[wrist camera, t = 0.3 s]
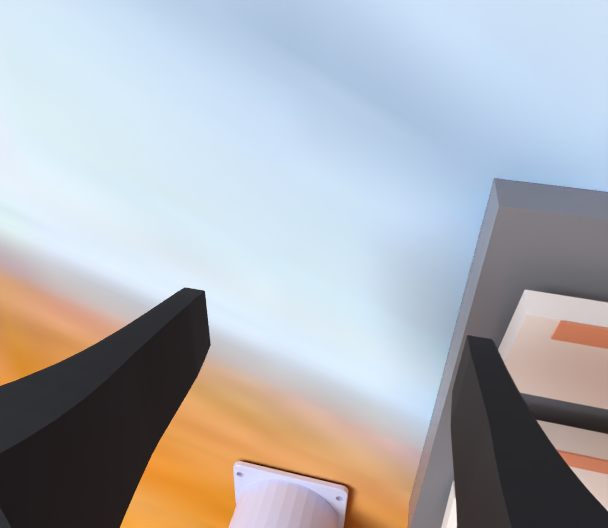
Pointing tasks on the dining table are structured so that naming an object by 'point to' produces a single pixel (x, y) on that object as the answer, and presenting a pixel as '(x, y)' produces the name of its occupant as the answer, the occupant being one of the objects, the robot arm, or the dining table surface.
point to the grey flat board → (504, 300)
